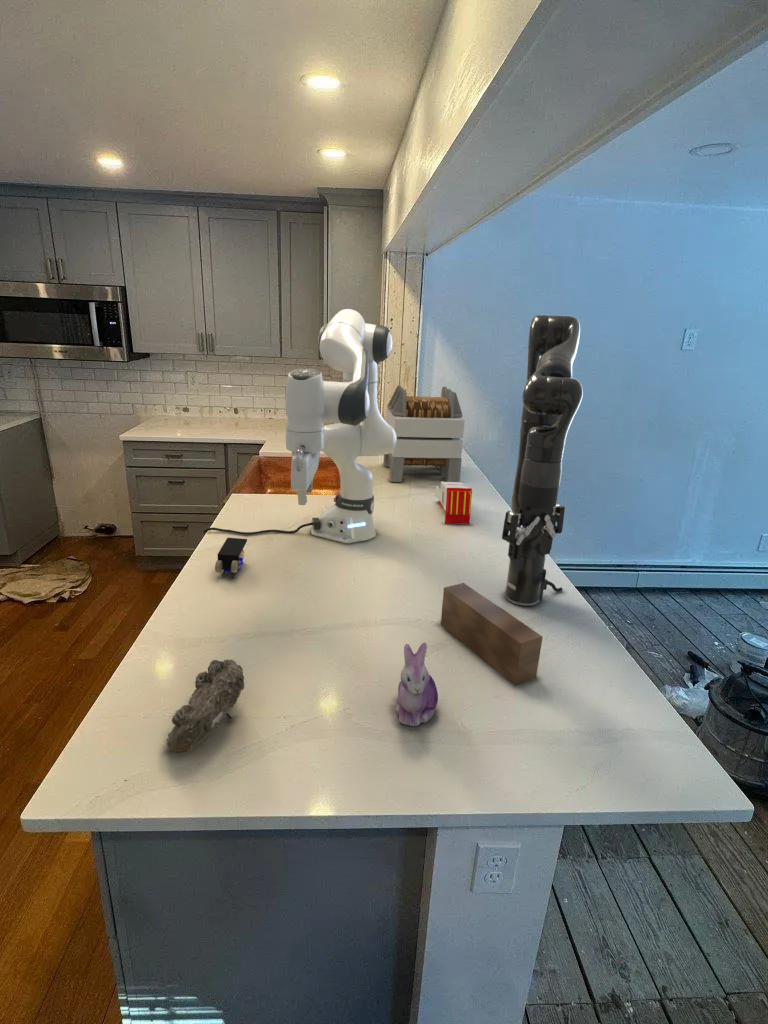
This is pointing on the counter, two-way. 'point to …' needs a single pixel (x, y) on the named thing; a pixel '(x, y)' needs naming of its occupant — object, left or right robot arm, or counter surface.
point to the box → (491, 633)
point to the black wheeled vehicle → (230, 556)
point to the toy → (455, 502)
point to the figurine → (416, 689)
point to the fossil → (206, 705)
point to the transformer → (425, 433)
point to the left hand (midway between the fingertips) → (305, 497)
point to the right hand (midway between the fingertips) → (529, 556)
